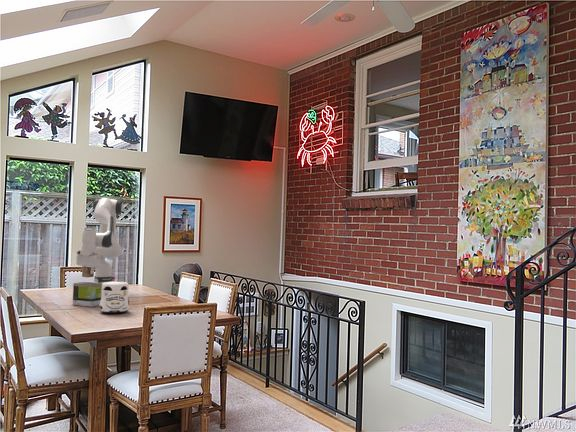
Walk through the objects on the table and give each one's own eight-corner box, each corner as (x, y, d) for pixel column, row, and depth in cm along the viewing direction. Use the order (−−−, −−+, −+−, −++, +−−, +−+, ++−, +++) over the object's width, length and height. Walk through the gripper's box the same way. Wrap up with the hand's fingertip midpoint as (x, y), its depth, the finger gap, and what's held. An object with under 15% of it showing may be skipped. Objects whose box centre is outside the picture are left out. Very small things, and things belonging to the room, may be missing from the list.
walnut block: (88, 276, 327) (89, 267, 327) (93, 276, 325) (93, 267, 325) (82, 276, 323) (82, 267, 323) (87, 277, 320) (87, 268, 320)
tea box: (101, 305, 326) (102, 282, 326) (90, 307, 316) (91, 284, 317) (83, 303, 331) (83, 281, 331) (72, 305, 321) (72, 282, 321)
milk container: (111, 316, 290) (113, 285, 290) (93, 312, 300) (94, 283, 300) (135, 312, 305) (136, 283, 305) (116, 308, 314) (117, 280, 314)
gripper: (103, 253, 321) (102, 274, 321) (83, 251, 332) (82, 271, 332) (95, 253, 316) (94, 275, 316) (74, 251, 326) (74, 272, 326)
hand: (88, 273), depth 324 cm, fingers closed on walnut block, 5 cm apart
